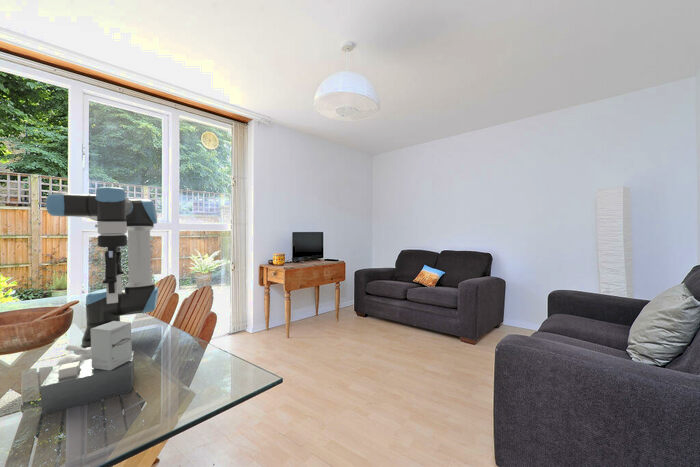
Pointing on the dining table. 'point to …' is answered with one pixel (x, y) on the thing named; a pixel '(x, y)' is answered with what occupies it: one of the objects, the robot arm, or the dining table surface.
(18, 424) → the dining table surface
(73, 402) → the block
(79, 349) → the rabbit
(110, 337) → the supplement box
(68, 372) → the block
